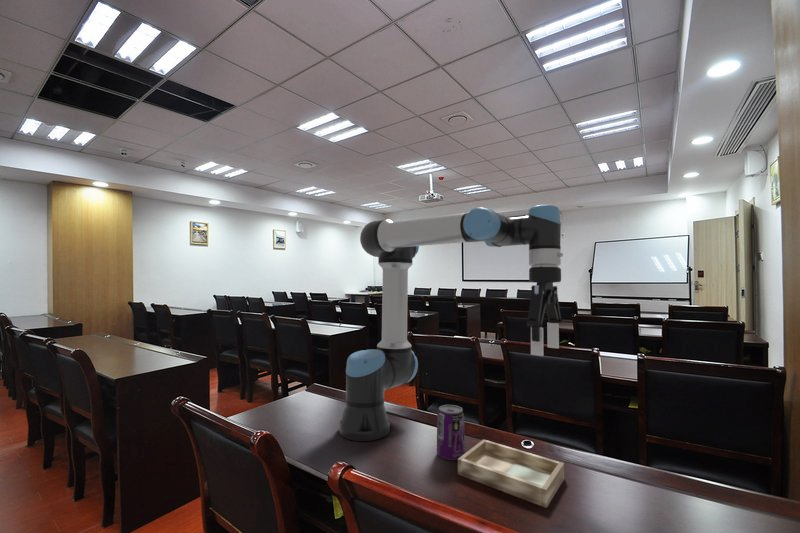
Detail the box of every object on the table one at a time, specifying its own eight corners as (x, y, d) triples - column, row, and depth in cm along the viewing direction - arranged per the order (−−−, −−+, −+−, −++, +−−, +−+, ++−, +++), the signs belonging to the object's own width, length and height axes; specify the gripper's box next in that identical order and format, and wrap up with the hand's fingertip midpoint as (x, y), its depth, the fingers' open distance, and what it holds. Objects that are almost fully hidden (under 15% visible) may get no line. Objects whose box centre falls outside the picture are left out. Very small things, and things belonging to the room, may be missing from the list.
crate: (457, 474, 83) (457, 458, 83) (483, 452, 94) (483, 439, 94) (546, 508, 71) (546, 490, 71) (564, 478, 82) (564, 463, 82)
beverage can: (463, 463, 88) (464, 414, 89) (435, 460, 90) (435, 412, 90) (464, 450, 95) (464, 405, 96) (438, 448, 96) (438, 403, 97)
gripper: (545, 263, 78) (546, 361, 77) (572, 268, 98) (573, 346, 96) (512, 264, 83) (512, 356, 81) (544, 269, 102) (544, 343, 101)
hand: (545, 351), depth 89 cm, fingers open, 13 cm apart
